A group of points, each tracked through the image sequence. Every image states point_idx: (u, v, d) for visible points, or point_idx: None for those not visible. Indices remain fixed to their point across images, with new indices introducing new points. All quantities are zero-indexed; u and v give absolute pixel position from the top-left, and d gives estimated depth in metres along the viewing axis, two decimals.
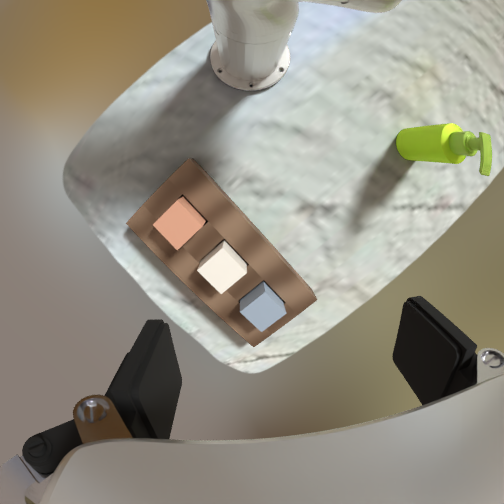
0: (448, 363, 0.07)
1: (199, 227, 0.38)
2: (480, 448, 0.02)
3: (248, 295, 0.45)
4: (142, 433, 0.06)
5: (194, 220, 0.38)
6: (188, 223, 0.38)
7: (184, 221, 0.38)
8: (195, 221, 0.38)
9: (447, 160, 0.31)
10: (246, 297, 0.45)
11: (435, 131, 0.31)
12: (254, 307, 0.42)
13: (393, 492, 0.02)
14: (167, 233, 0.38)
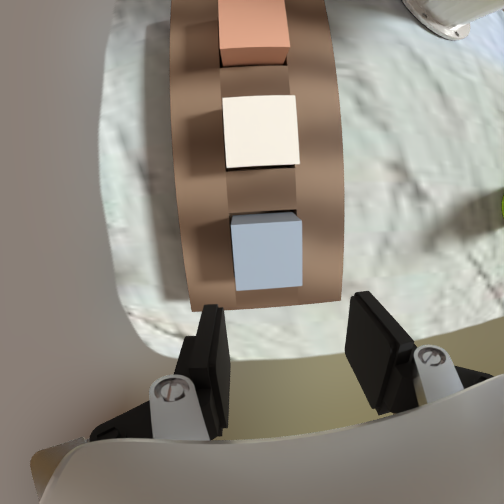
0: (384, 357, 0.08)
1: (284, 44, 0.16)
2: (480, 448, 0.02)
3: (254, 215, 0.23)
4: (214, 410, 0.07)
5: (285, 32, 0.16)
6: (273, 29, 0.16)
7: (269, 23, 0.15)
8: (286, 34, 0.16)
9: None
10: (250, 216, 0.23)
11: None
12: (263, 235, 0.20)
13: (393, 492, 0.02)
14: (228, 20, 0.15)
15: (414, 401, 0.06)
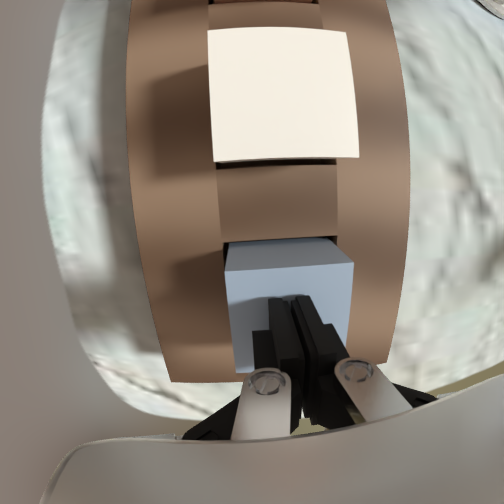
0: (308, 367, 0.08)
1: None
2: (480, 448, 0.02)
3: (266, 245, 0.14)
4: None
5: None
6: None
7: None
8: None
9: None
10: (259, 246, 0.13)
11: None
12: (284, 290, 0.11)
13: (393, 492, 0.02)
14: None
15: (338, 416, 0.07)
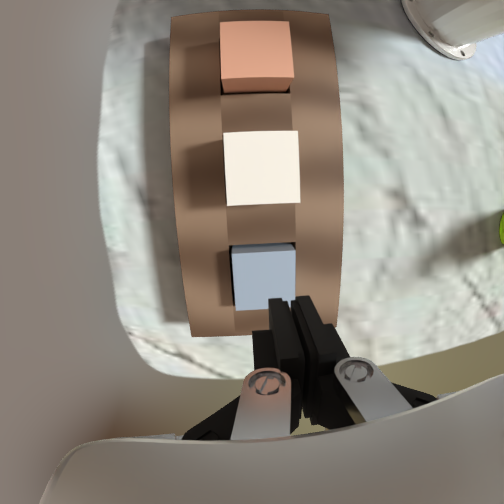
0: (308, 367, 0.08)
1: (288, 74, 0.17)
2: (480, 448, 0.02)
3: None
4: None
5: (289, 60, 0.16)
6: (276, 57, 0.16)
7: (273, 50, 0.16)
8: (290, 63, 0.16)
9: None
10: None
11: None
12: (260, 263, 0.22)
13: (393, 492, 0.02)
14: (230, 46, 0.16)
15: (338, 416, 0.07)
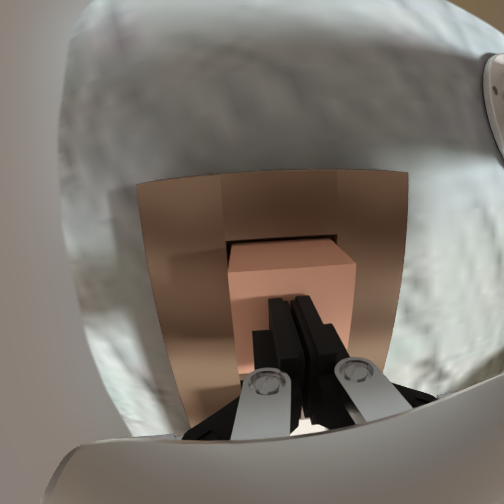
0: (308, 367, 0.08)
1: None
2: (480, 448, 0.02)
3: None
4: None
5: (344, 340, 0.12)
6: None
7: None
8: (344, 344, 0.12)
9: None
10: None
11: None
12: None
13: (393, 492, 0.02)
14: (250, 325, 0.11)
15: (338, 416, 0.07)
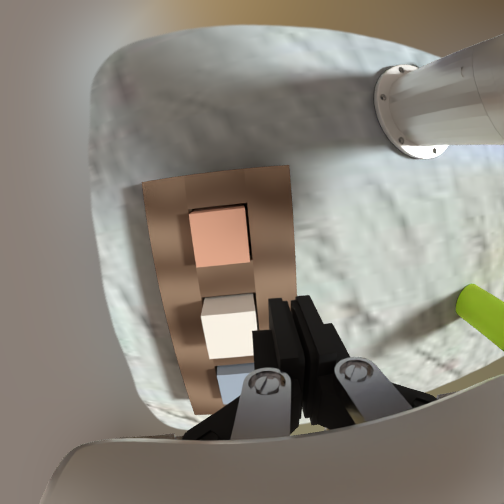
0: (308, 367, 0.08)
1: (245, 260, 0.26)
2: (480, 448, 0.02)
3: None
4: None
5: (246, 248, 0.26)
6: (236, 246, 0.26)
7: (232, 240, 0.26)
8: (246, 250, 0.26)
9: None
10: None
11: None
12: (237, 379, 0.30)
13: (393, 492, 0.02)
14: (199, 239, 0.25)
15: (338, 415, 0.07)
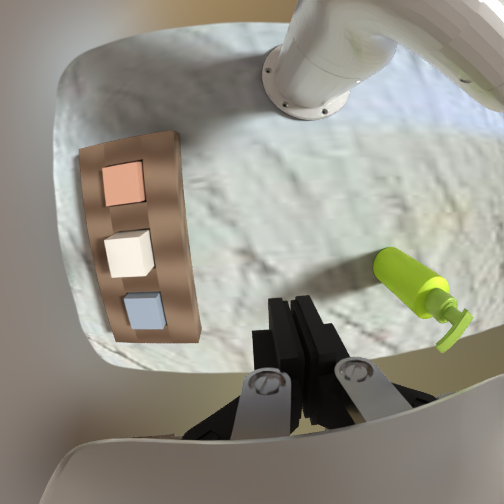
0: (308, 367, 0.08)
1: (137, 200, 0.33)
2: (480, 448, 0.02)
3: None
4: None
5: (137, 191, 0.32)
6: (131, 189, 0.32)
7: (128, 185, 0.32)
8: (137, 192, 0.32)
9: (413, 308, 0.30)
10: None
11: (422, 274, 0.30)
12: (138, 304, 0.37)
13: (393, 492, 0.02)
14: (108, 185, 0.32)
15: (338, 416, 0.07)
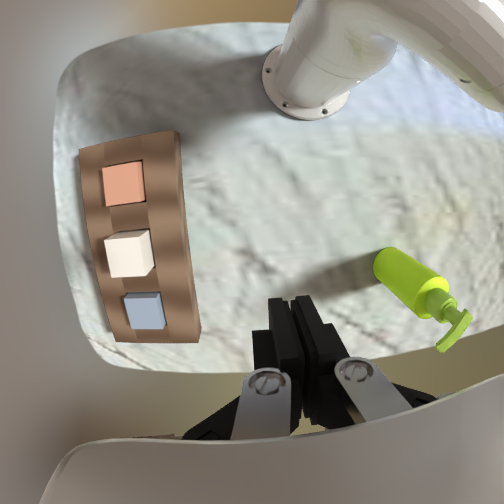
0: (308, 367, 0.08)
1: (137, 200, 0.33)
2: (480, 448, 0.02)
3: None
4: None
5: (137, 190, 0.32)
6: (131, 189, 0.32)
7: (128, 185, 0.32)
8: (137, 192, 0.32)
9: (413, 309, 0.30)
10: None
11: (422, 274, 0.30)
12: (138, 304, 0.37)
13: (393, 492, 0.02)
14: (108, 185, 0.32)
15: (338, 416, 0.07)
